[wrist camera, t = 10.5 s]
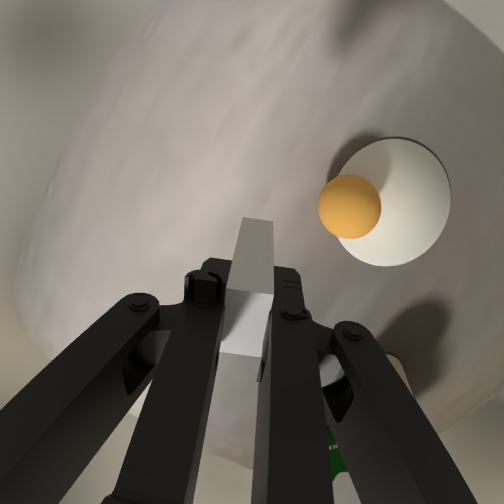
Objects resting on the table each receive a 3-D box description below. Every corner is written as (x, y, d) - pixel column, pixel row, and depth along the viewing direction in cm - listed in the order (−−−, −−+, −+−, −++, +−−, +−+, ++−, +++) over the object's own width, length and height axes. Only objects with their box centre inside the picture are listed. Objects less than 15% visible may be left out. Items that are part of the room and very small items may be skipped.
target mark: (462, 158, 26) (463, 158, 26) (427, 272, 32) (428, 273, 32) (344, 124, 26) (345, 124, 26) (317, 255, 32) (317, 256, 32)
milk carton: (357, 415, 43) (376, 532, 25) (364, 441, 46) (380, 541, 28) (302, 429, 45) (306, 544, 27) (315, 453, 48) (321, 552, 30)
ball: (317, 168, 24) (339, 162, 29) (300, 231, 27) (323, 215, 31) (384, 194, 22) (394, 184, 26) (360, 258, 25) (374, 238, 29)
